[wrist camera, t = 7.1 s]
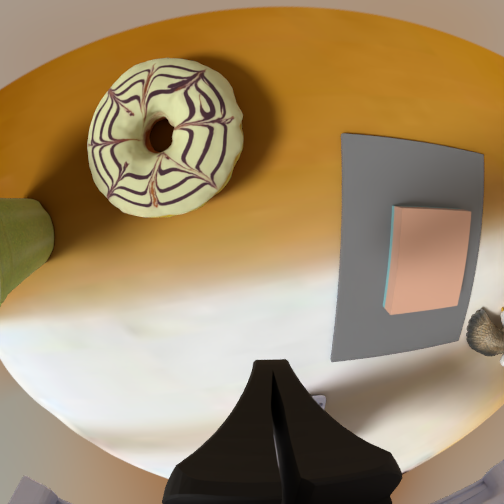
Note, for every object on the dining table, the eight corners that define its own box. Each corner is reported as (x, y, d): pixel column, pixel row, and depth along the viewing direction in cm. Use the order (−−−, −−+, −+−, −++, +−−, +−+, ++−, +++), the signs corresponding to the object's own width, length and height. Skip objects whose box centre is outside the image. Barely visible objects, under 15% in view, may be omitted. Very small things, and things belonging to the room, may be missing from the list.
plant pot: (12, 281, 22) (-45, 315, 13) (-2, 187, 19) (-67, 200, 11) (77, 283, 22) (15, 329, 13) (63, 171, 19) (-13, 178, 11)
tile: (382, 306, 21) (447, 298, 21) (390, 314, 20) (457, 305, 20) (392, 205, 19) (459, 208, 19) (402, 208, 18) (471, 211, 18)
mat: (456, 338, 23) (458, 340, 23) (330, 359, 23) (331, 362, 23) (480, 154, 18) (483, 154, 18) (341, 134, 19) (342, 133, 18)
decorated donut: (240, 62, 17) (237, 40, 14) (247, 207, 20) (247, 214, 17) (105, 85, 18) (82, 72, 14) (111, 218, 20) (86, 228, 17)
